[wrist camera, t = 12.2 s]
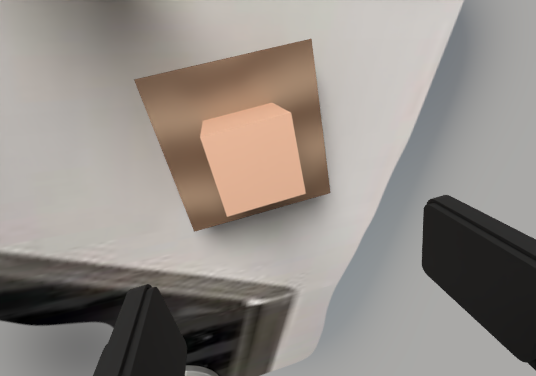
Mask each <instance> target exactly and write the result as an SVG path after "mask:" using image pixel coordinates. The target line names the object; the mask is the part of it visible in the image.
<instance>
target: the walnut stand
mask: <svg viewBox="0 0 536 376" xmlns="http://www.w3.org/2000/svg"><path fill="white" fill-rule="evenodd" d="M135 83H136V85H137V88H138V90H139V93H140V95H141V98H142V101H143V103H144V106H145V108H146V111H147V113H148V116H149V118H150V121H151V123H152V126H153V128H154V131H155V133H156V136H157V138H158V141H159V143H160V146H161V149H162V151H163V154H164V156H165V159H166V161H167V164H168V166H169V169H170V171H171V174H172V176H173V179H174V181H175V184H176V186H177V189H178V191H179V194H180V197H181V199H182V202H183V204H184V207H185V209H186V212H187V214H188V217H189V219H190V222H191V224H192V227H193V229H194V232H195V231H198V230H202V229H205V228H209V227H212V226H216V225H219V224H223V223H226V222H230V221H233V220H237V219H240V218H244V217H247V216H251V215H254V214H258V213H262V212H265V211H269V210H272V209H276V208H279V207H283V206H286V205H290V204H293V203H297V202H300V201H304V200H307V199H311V198H314V197H318V196H321V195H325V194H328V193H330V186H329V178H328V170H327V162H326V154H325V146H324V138H323V129H322V121H321V113H320V105H319V97H318V89H317V81H316V72H315V64H314V56H313V48H312V40H311V39H308V40H304V41H300V42H295V43H291V44H287V45H282V46H278V47H274V48H269V49H265V50H261V51H256V52H252V53H248V54H243V55H239V56H235V57H230V58H226V59H222V60H217V61H213V62H209V63H204V64H200V65H196V66H191V67H187V68H183V69H178V70H174V71H170V72H165V73H161V74H157V75H152V76H148V77H144V78H139V79H135ZM269 103H274V104H276V105H278V106H280V107H281V108H283V109H285V110H287V111H289V112H291V115H292V120H293V126H294V131H295V137H296V142H297V148H298V153H299V159H300V164H301V170H302V175H303V181H304V186H305V192H306V194H303V195H300V196H296V197H293V198H289V199H286V200H283V201H279V202H276V203H272V204H269V205H266V206H262V207H259V208H255V209H252V210H249V211H245V212H242V213H238V214H235V215H232V216H228V217H227V215H226V212H225V209H224V206H223V203H222V200H221V197H220V194H219V192H218V189H217V186H216V183H215V180H214V177H213V174H212V171H211V168H210V165H209V162H208V159H207V156H206V153H205V150H204V147H203V144H202V141H201V138H200V134H201V128H202V122H203V121H204V120H208V119H212V118H215V117H219V116H223V115H227V114H231V113H235V112H238V111H242V110H246V109H250V108H254V107H257V106H261V105H265V104H269Z"/></svg>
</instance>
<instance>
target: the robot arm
mask: <svg viewBox="0 0 536 376" xmlns="http://www.w3.org/2000/svg"><path fill="white" fill-rule="evenodd" d="M422 267H423V270H424V271H425V273H426V274H427V275H428V276H429V277H430V278H431V279H432V280H433V281H434V282H436V283H437V284H438V285H439V286H440V287H441V288H442V289H443V290H444V291H445V292H446V293H447V294H448V295H449V296H451V297H452V298H453V299H454V300H455V301H456V302H457V303H458V304H459V305H460V306H461V307H462V308H464V309H465V310H466V311H467V312H468V313H469V314H470V315H471V316H472V317H473V318H474V319H475V320H477V322H479V323H480V324H481V325H482V326H483V327H484V328H485V329H486V330H487V331H488V332H489V333H490V334H492V335H493V336H494V337H495V338H496V339H497V340H498V341H499V342H500V343H501V344H502V345H503V346H504V347H506V348H507V349H508V350H509V351H510V352H511V353H512V354H513V355H514V356H516V357H517V358H518V359H519V360H521V361H523V362H527V363H529V365H531V366H532V367H533V368H534V369H535V370H536V239H534V238H532V237H529V236H528V235H525V234H524V233H522V232H520V231H518V230H516V229H514V228H512V227H510V226H508V225H506V224H504V223H502V222H500V221H498V220H496V219H494V218H492V217H490V216H488V215H486V214H484V213H483V212H481V211H479V210H477V209H474V208H473V207H470V206H469V205H467V204H465V203H462V202H461V201H459V200H457V199H455V198H453V197H451V196H449V195H443V196H440V197H436V198H433V199H430V200H429V201H428V202H427V205H425V207H424V217H423V245H422ZM186 359H187V347H186V342H185V340H184V338H183V336H182V334H181V332H180V330H179V328H178V326H177V324H176V322H175V321H174V319H173V317H172V315H171V313H170V311H169V309H168V307H167V305H166V303H165V301H164V299H163V297H162V295H161V293H160V291H159V290H158V288H157V287H153V288H152V287H151V285H149V284H147V285H143V286H140V287H137V288H133V289H130V290H129V291H128V293H127V295H126V298H125V300H124V303H123V306H122V308H121V311H120V313H119V316H118V319H117V321H116V324H115V327H114V329H113V332H112V335H111V337H110V340H109V342H108V344H107V345H106V346H105V348H104V350H103V352H102V354H101V357H100V360H99V362H98V365H97V367H96V370H95V372H94V375H93V376H218V375H217V374H216V373H215V372H213V371H212V370H210V369H207V368H205V367H201V366H193V365H186Z"/></svg>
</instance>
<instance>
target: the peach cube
mask: <svg viewBox="0 0 536 376" xmlns="http://www.w3.org/2000/svg"><path fill="white" fill-rule="evenodd" d="M200 138H201V141H202V144H203V147H204V150H205V153H206V156H207V159H208V162H209V165H210V168H211V171H212V174H213V177H214V180H215V183H216V186H217V189H218V192H219V194H220V197H221V200H222V203H223V206H224V209H225V212H226V215H227V217H228V216H232V215H235V214H238V213H242V212H245V211H249V210H252V209H255V208H259V207H262V206H266V205H269V204H272V203H276V202H279V201H283V200H286V199H289V198H293V197H296V196H300V195H303V194H306V192H305V186H304V181H303V175H302V170H301V164H300V159H299V153H298V148H297V142H296V137H295V131H294V126H293V120H292V115H291V112H289V111H287V110H285V109H283V108H281V107H280V106H278V105H276V104H274V103H269V104H265V105H261V106H257V107H254V108H250V109H246V110H242V111H238V112H235V113H231V114H227V115H223V116H219V117H215V118H212V119H208V120H204V121H203V122H202V128H201V134H200Z"/></svg>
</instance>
